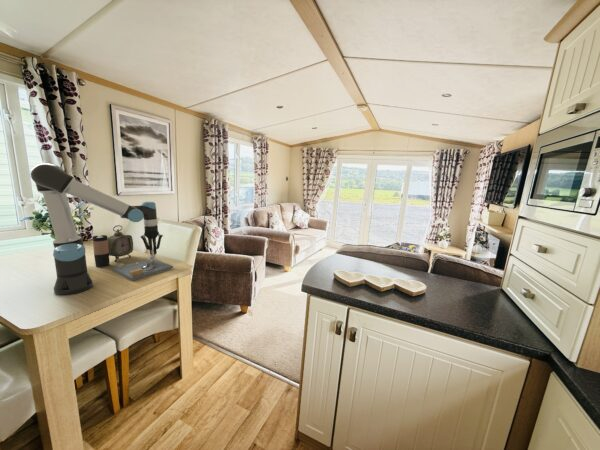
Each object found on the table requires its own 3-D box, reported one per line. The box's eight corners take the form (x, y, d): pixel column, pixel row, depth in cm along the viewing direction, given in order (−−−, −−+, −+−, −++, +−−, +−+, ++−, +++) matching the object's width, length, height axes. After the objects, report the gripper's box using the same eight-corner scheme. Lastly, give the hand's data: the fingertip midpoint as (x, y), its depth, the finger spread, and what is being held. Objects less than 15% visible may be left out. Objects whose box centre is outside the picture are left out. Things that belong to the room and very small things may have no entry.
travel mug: (103, 267, 155) (100, 238, 151) (92, 267, 155) (88, 237, 151) (113, 263, 162) (110, 235, 159) (102, 263, 163) (99, 234, 159)
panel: (131, 280, 139) (131, 277, 139) (113, 270, 151) (112, 267, 151) (173, 268, 160) (172, 265, 160) (153, 260, 172) (153, 257, 172)
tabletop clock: (115, 263, 164) (112, 227, 159) (105, 261, 165) (101, 226, 161) (134, 256, 178) (131, 224, 173) (124, 255, 179) (121, 223, 174)
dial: (151, 269, 152) (151, 261, 151) (140, 269, 150) (140, 262, 149) (157, 261, 165) (157, 254, 165) (147, 261, 164) (147, 254, 163)
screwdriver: (131, 276, 141) (131, 272, 140) (129, 275, 142) (129, 271, 141) (153, 270, 151) (153, 266, 150) (151, 269, 152) (151, 265, 152)
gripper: (163, 223, 163) (165, 256, 167) (142, 224, 159) (145, 257, 164) (160, 226, 155) (162, 260, 160) (137, 226, 152) (141, 261, 157)
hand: (153, 258), depth 162 cm, fingers closed
